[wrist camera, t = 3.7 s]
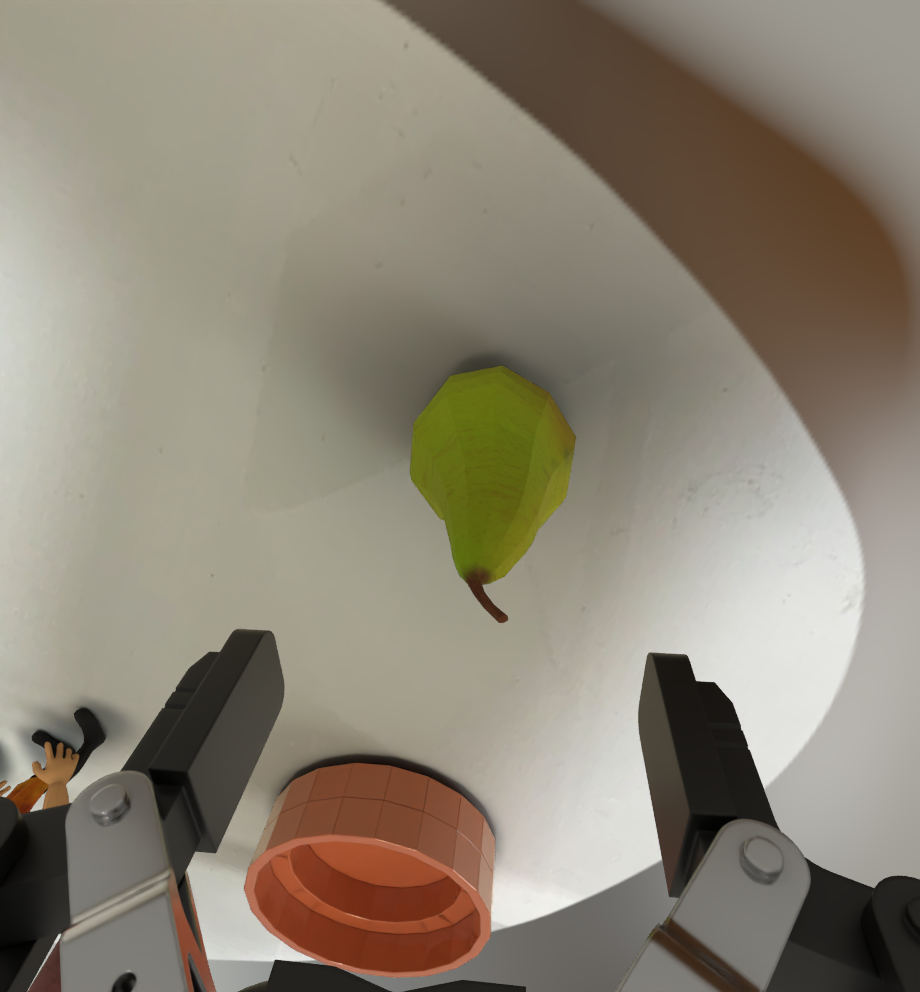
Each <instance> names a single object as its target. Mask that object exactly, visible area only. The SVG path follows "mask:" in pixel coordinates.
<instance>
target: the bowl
mask: <svg viewBox="0 0 920 992" xmlns="http://www.w3.org/2000/svg"><path fill="white" fill-rule="evenodd" d="M494 874H495V837H494V835H493V833H492V831H491V829H490V827H489V825H488V823H487V821H486V819H485V817H484V816H483V815H482V814H481V813H480V812H479V811H478V810H477V809H476V808H475V807H474V806H473V805H472V804H471V803H470V802H469V801H468V800H467V799H465V798H464V797H463V796H462V795H460V794H459V793H458V792H456V791H454V790H452V789H450V788H448V787H447V786H445V785H443V784H441V783H439V782H438V781H436V780H434V779H432V778H430V777H428V776H425V775H421V774H418V773H414V772H411V771H408V770H404V769H401V768H397V767H394V766H390V765H377V764H365V763H350V764H343V765H336V766H329V767H323V768H318V769H316V770H314V771H312V772H310V773H307V774H305V775H303V776H301V777H299V778H297V779H294V780H293V781H292V782H291V783H290V784H289V785H288V786H287V787H286V789H285V790H284V791H283V792H282V793H281V794H280V795H279V796H278V797H277V799H276V801H275V804H274V806H273V809H272V811H271V814H270V816H269V818H268V821H267V823H266V826H265V828H264V831H263V833H262V836H261V838H260V841H259V843H258V846H257V848H256V850H255V853H254V855H253V858H252V860H251V863H250V865H249V868H248V872H247V876H246V881H245V885H244V891H245V894H246V897H247V900H248V903H249V906H250V909H251V911H252V913H253V914H254V915H255V916H256V917H257V919H258V920H259V921H260V922H261V923H262V924H263V926H264V927H265V928H266V929H267V930H268V931H269V932H270V933H271V934H273V935H274V936H276V937H277V938H278V939H280V940H281V941H283V942H284V943H285V944H287V945H288V946H290V947H291V948H292V949H295V950H296V951H298V952H300V953H302V954H305V955H307V956H309V957H311V958H313V959H315V960H318V961H320V962H322V963H324V964H327V965H330V966H336V967H338V968H341V969H345V970H348V971H352V972H356V973H360V974H368V975H377V976H386V977H396V978H399V977H419V976H430V975H434V974H438V973H441V972H445V971H449V970H452V969H456V968H458V967H460V966H461V965H463V964H465V963H466V962H468V961H469V960H471V959H473V958H474V957H476V956H477V955H478V954H479V953H480V952H481V950H482V949H483V947H484V945H485V944H486V942H487V941H488V939H489V938H490V936H491V923H492V906H493V890H494Z"/></svg>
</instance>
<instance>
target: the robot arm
mask: <svg viewBox="0 0 920 992" xmlns="http://www.w3.org/2000/svg"><path fill="white" fill-rule="evenodd" d="M283 698H284V679H283V674H282V669H281V665H280V660H279V655H278V651H277V646H276V641H275V637H274V634H273V633H272V632H271V631H265V630H246V629H236V630H235V631H233V632H232V634H231V635H230V637H229V638H228V640H227V642H226V643H225V645H224V646H223V648H222V650H221V651H220V652H208V653H207V654H206V655H205V656H204V657H202V658H201V659H200V660H199V661H197V662H196V663H195V664H194V665H192V666H191V667H190V668H189V669H188V670H187V672H186V674H185V675H184V677H183V678H182V680H181V681H180V683H179V684H178V686H177V687H176V691H175V692H173V693H172V695H171V696H170V698H169V699H168V701H167V702H166V704H165V708H162V710H161V711H160V713H159V714H158V716H157V717H156V719H155V720H154V722H153V723H152V725H151V726H150V728H149V729H148V731H147V732H146V734H145V735H144V737H143V738H142V740H141V741H140V743H139V744H138V746H137V747H136V749H135V750H134V752H133V753H132V755H131V756H130V758H129V759H128V761H127V762H126V764H125V765H124V767H123V768H122V769H121V771H120V772H116V773H112V774H110V775H107V776H105V777H103V778H101V779H99V780H97V781H95V782H94V783H92V784H91V785H90V786H88V787H87V788H86V789H85V790H83V791H82V792H81V793H80V794H79V795H78V797H77V798H76V799H75V800H74V802H73V803H69V804H65V805H61V806H56V807H52V808H47V809H42V810H38V811H33V812H28V813H24V814H21V813H20V811H19V810H18V808H17V806H16V805H15V803H14V802H13V801H11V800H10V799H8V798H5V797H0V992H27V990H28V988H29V987H30V985H31V983H32V981H33V979H34V978H35V976H36V974H37V972H38V970H39V968H40V967H41V965H42V963H43V961H44V959H45V958H46V956H47V954H48V952H49V950H50V949H51V947H52V945H53V943H54V941H55V939H56V938H57V936H58V934H61V937H60V968H61V992H216V989H215V985H214V982H213V979H212V976H211V973H210V969H209V965H208V961H207V957H206V952H205V948H204V943H203V939H202V935H201V930H200V926H199V921H198V917H197V912H196V908H195V903H194V899H193V895H192V890H191V886H190V881H189V877H188V874H187V871H186V869H187V867H188V865H189V863H190V861H191V859H192V857H193V855H194V853H195V851H196V852H207V853H216V852H217V850H218V847H219V845H220V843H221V841H222V839H223V836H224V834H225V832H226V830H227V827H228V825H229V823H230V821H231V819H232V816H233V814H234V812H235V810H236V808H237V805H238V803H239V801H240V799H241V796H242V794H243V792H244V790H245V788H246V785H247V783H248V781H249V779H250V777H251V774H252V772H253V770H254V768H255V765H256V763H257V761H258V759H259V757H260V754H261V752H262V750H263V748H264V746H265V743H266V741H267V739H268V737H269V734H270V732H271V730H272V728H273V726H274V723H275V721H276V719H277V717H278V714H279V712H280V710H281V707H282V703H283ZM638 723H639V735H640V741H641V746H642V752H643V757H644V762H645V768H646V773H647V779H648V784H649V790H650V795H651V801H652V806H653V811H654V817H655V822H656V828H657V833H658V839H659V844H660V850H661V855H662V860H663V866H664V871H665V877H666V882H667V887H668V893H669V897H676V898H679V899H678V901H677V902H676V904H675V906H674V907H673V909H672V911H671V912H670V914H669V916H668V917H667V919H666V920H665V922H664V923H663V924H660V923H659V924H658V925H656V927H655V928H654V929H653V930H652V932H651V933H650V934H649V936H648V938H647V939H646V941H645V943H644V944H643V946H642V947H641V949H640V951H639V952H638V954H637V956H636V957H635V959H634V961H633V962H632V964H631V965H630V968H629V969H628V971H627V972H626V974H625V975H624V977H623V979H622V980H621V982H620V984H619V985H618V987H617V989H616V990H615V992H920V880H919V879H916V878H912V877H907V876H891V877H888V878H885V879H883V880H882V881H880V882H879V883H878V884H877V886H876V887H875V888H872V887H870V886H867V885H864V884H861V883H859V882H856V881H854V880H851V879H848V878H846V877H843V876H841V875H837V874H835V873H833V872H830V871H828V870H826V869H823V868H821V867H819V866H818V865H816V864H814V863H812V862H811V861H810V860H808V859H807V858H805V857H804V856H803V854H802V852H801V851H800V850H799V848H798V847H797V846H796V845H795V844H794V842H793V841H792V840H791V839H790V838H788V837H787V836H786V835H785V834H784V833H782V832H781V831H780V829H779V827H778V826H777V823H776V821H775V819H774V816H773V813H772V810H771V808H770V805H769V802H768V799H767V797H766V794H765V791H764V788H763V785H762V783H761V780H760V777H759V774H758V772H757V769H756V766H755V763H754V761H753V758H752V755H751V752H750V750H748V744H747V741H746V739H745V736H744V733H743V731H742V730H741V725H740V722H739V719H738V717H737V714H736V711H735V708H734V706H733V703H732V702H731V701H730V699H729V698H728V697H727V696H726V695H725V694H724V693H723V691H722V690H721V689H720V688H719V687H718V686H717V685H716V683H715V682H700V681H696V680H695V676H694V673H693V670H692V667H691V664H690V661H689V658H688V656H687V655H685V654H667V653H648V655H647V659H646V665H645V671H644V677H643V683H642V690H641V696H640V702H639V711H638ZM238 992H391V991H388V990H386V989H384V988H381V987H380V986H377V985H375V984H373V983H371V982H369V981H366V980H364V979H362V978H360V977H358V976H355V975H353V974H351V973H349V972H346V971H344V970H342V969H340V968H338V967H336V966H329V965H319V964H310V963H301V962H292V961H282V960H275V961H274V965H273V968H272V971H271V974H270V977H269V980H268V981H266V982H261V983H258V984H255V985H253V986H250V987H247V988H244V989H242V990H240V991H238ZM405 992H526V987H524V986H514V985H505V984H496V983H486V982H476V981H468V980H460V981H455V982H449V983H444V984H439V985H435V986H429V987H424V988H419V989H414V990H409V991H405Z"/></svg>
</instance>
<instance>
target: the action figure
mask: <svg viewBox="0 0 920 992" xmlns="http://www.w3.org/2000/svg"><path fill="white" fill-rule="evenodd" d="M74 717H75V720H76V721H77V723H78V724H79V726H80V727H81V729H82V731H83V734H84V743H83V745H82V747H81V748H80V749H79V750H78V751H77V752H75V750H74V749H72V748H69V747H66V746H63V744H62V743H59V744H58V743H56V742H55V741H54V740H52V739H51V738H50V737H49V736H47V735H46V734H44V733H41V732H35V733H34V734H33V735H32V741H33V742H34V743H36V744H38V745H40V746H42V747H43V748H45V753H46V757H47V763H46V767H45V768H44V769H42V768H41V764H40V763H39V762H38V761H36V762H33V763H32V767H33V772H34V774H35V775H33V776H31V778H30V779H28V780H26V781H25V782H23V783H21V784H18V785H17V786H16V787H15V788H14V790H13V791H12V792H11V793H10V794H9V795H8V796H7V797H6V798H8V799H10V800H11V801H13V802H14V803H15V805H16V806H17V808H18V810H19V811H20V813H21V814H24V813H28V812H30V810H31V809H32V807H33V806H34V805H35V803H36V802H37V800H38V799H39V798H40V797H41V795H42V794H44V793H45V792H46V791H47V792H46V795H45V800H44V805H43V809H47V808H52V807H56V806H61V805H65V804H69V797H68V792H67V788H66V784H67V783H68V782H69V781H70V780H71V779H72V778H73V777H74V776H75V775H76V774H77V773H78V772H79V771H80V770H81V769H82V767H83V766H84V764H85V763H86V761H87V759H88V758H89V756H90V754H91V753H92V751H93V750H94V749H96V748H97V747H98V746H100V745H101V744H102V743H104V741H105V735H104V733H103V731H102V730H101V727H100V725H99V723H98V721H97V720H96V718H95V717H94V715H93V714H92V713H91V712H90V711H88V710H85V709H79V710H77V711H76V712H75V713H74ZM6 783H7V781H6V780H4V781H2V782H0V788H2V787H3V786H4V785H5V784H6ZM10 789H11V786H8V787H6V788H5V789H3V790H1V791H0V797H1V796H2V795H3V794H4V793H6V792H7V791H9V790H10Z"/></svg>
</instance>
